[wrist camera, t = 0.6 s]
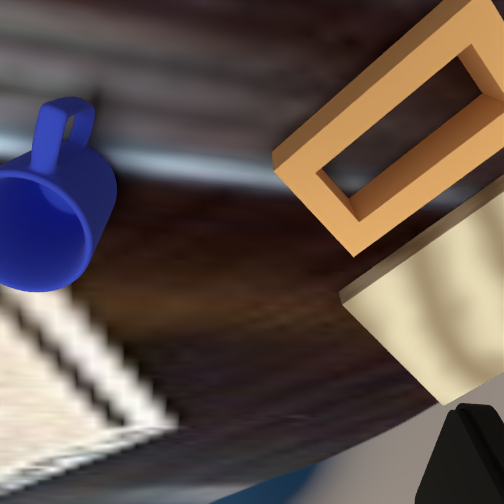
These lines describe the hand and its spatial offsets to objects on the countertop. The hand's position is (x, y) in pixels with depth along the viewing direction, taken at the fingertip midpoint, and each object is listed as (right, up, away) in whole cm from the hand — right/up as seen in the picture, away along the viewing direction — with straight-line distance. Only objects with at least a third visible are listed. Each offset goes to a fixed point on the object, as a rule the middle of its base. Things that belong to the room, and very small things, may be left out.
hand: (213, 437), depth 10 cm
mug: (-12, +11, +27) cm, 32 cm away
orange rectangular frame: (+11, +13, +26) cm, 31 cm away
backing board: (+23, +3, +31) cm, 39 cm away
